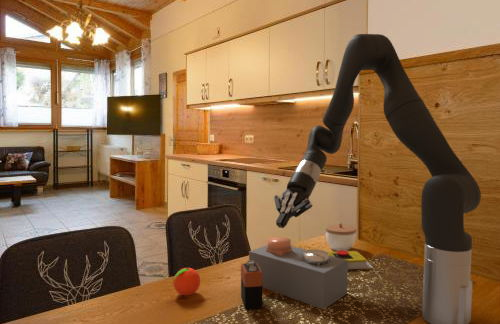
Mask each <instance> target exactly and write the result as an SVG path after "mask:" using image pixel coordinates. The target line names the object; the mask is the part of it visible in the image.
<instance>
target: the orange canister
mask: <svg viewBox="0 0 500 324" xmlns="http://www.w3.org/2000/svg"><path fill="white" fill-rule="evenodd" d="M291 242H292V240H291V238H289V237H284V236H272V237H269V238H268V239H267V245H268V247H267V252H270V253H273V254H277V255H284V254H286V253H289V252H291V251H292V247H291V246H292V244H291Z"/></svg>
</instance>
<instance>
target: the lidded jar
mask: <svg viewBox="0 0 500 324" xmlns="http://www.w3.org/2000/svg"><path fill="white" fill-rule="evenodd" d="M356 233H357V228H356V227H354V226H351V225H348V224H343V223H342V222H339V224H337V223H336V224H335V223H334V224H329V225H326V226H325V237H326V238H325V239H326V242H327V244H328V245H329V247H331V249H332V251H334V252H337V251H350V250H349V249H351V248H352V247H353V246H354V244H355V241H356Z"/></svg>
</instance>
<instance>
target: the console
mask: <svg viewBox="0 0 500 324" xmlns="http://www.w3.org/2000/svg"><path fill="white" fill-rule="evenodd" d="M267 247H268V244H267V245H266V244H265V245H264V246H260V247H257V248H255V249H252V250H250V251H248V261H250V260H252V261H254V263H257V264H258V265H259V267H260V269H261V271H262V274H263V277H262V289H266V290H268V291H272V292H274V293H277V294H279V295H282V296H285V297H288V298H290V299H293V300H296V301H299V302H302V303H303V304H307V305H310V306H313V307H315V308H318V309H320V310H325V309H326V308H328V307H329V306H331V305H332V304H335V302H336V301H338V300H340V299H341V298H343V297H344V296H346V295H347V294H348V278H349V277H348V273H349V272H348V271H349V269H348V260H345V259H341V258H337V257H333V256H329V255H328V260H329V262H328V263H327V264H324V265H321V266H317V265H311V264H307V263H305V262H302V261H303V253H304V251H306V250H307V249H305V248H301V247H296V246H293V245H291V247H292V251H291V252H289V253H286V254H284V255H277V254H273V253H270V252H267Z"/></svg>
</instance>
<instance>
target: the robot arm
mask: <svg viewBox="0 0 500 324" xmlns="http://www.w3.org/2000/svg"><path fill="white" fill-rule="evenodd" d="M361 71H373V72H374V73H375V74H376V75H377V77H378V78H379V80H380V83H381V84H382V87H383V90H384V91H383V92H384V95H383V113H384V117H385V118H386V121H387V123H388V124H389V127H390V128H391V130H392V132H393V134H394V135H395V136H396V138H397V139H398V140H399V141H400V142H401V143H402V144H403V145H404V146H405V147H406V148H407V149H408V150H410V152H411V153H412V154H413V155H415V156H416V157H417V158H418V159H419V160H420V161H421V163H423V164H424V165H425V167H426V168H427V170H428V172H429V174H430V176H431V177H430V178H429V179H427V180H426V182H425V183H424V185H423V188H422V191H421V201H420V202H421V204H420V206H421V208H420V209H421V210H420V212H421V230H422V233H423V235H424V256H423V259H424V261H423V282H422V284H423V285H422V286H423V287H422V307H421V309H422V310H421V313H422V314H421V315H422V316H421V317H422V318H423V319H424V321H426V322H427V323H428V324H470V323H471V320H472V319H471V318H472V315H471V314H472V299H473V280H472V279H471V267H472V266H471V265H472V248H473V238H472V235H471V234H470V233H469V232H466V231H465V227H464V226H465V225H464V222H465V220H464V219H465V218H464V214H467V213H470V212H473V211H475V210H476V209H477V208H478V207H479V205H480V202H481V198H482V193H481V189H480V186H479V184H478V182H477V181H476V179H475V178H474V176H473V175H472V173H471V172H470V171H469V170H468V168H467V167H466V166H465V165H464V164H463V162H462V161H461V160H460V158H459V157H458V156H457V154H456V153H455V152H454V151H453V149H452V148H451V146H450V144H449V143H448V142H449V141H448V140H447V139H446V137H445V135H444V134H443V132H442V131H441V129H440V127H439V126H438V125H437V122H436V121H435V119H434V117H433V115H432V113H431V112H430V111H429V109H428V107H427V106H426V103H425V101H424V99H422V97H421V96H420V95H419V93H418V92H417V90H416V88H415V86H414V84H413V83H412V81H411V79H410V78H409V76H408V74H407V72H406V70H405V69H404V67H403V65H402V62H401V61H400V57H399V56H398V53H397V51H396V48H395V47H394V45H393V43H392V41H391V40H390V39H389V38H388V37H387V36H385V35H384V34H379V33H359V34H354V35H353V36H352V37H351V38H350V40H349V41H348V43H347V45H346V47H345V50H344V53H343V56H342V60H341V64H340V68H339V71H338V76H337V80H336V84H335V87H334V90H333V94H332V97H331V99H330V102H329V103H328V105H327V108H326V110H325V112H324V115H323V117H322V123H323V125H324V126H322V125H316V126H314V127H313V128H311V130H310V132H309V135H308V140H307V147H306V150H305V152H304V154H303V157H302V158H301V160H300V162H299V164H298V165H296V168H295V169H294V171H293V173H292V174H291V176H290V179H289V180H288V182H287V185H286V189H285V190H284V191H283V192H282V194H280V195H278V194H276V195H274V197H273V199H274V205H275V209H276V211H277V212H278V214H279V215H278V216H277V219H276V221H275V223H276V226H277V227H278V228H281V229H284V228H285V227H287V226H288V223H289V221H290V219H291V218H293V217H294V218H297V217H299V216H301V215H302V214H303V213H305V212H307V211H308V210H310V209H311V208H312V207H313V204H312V202H311V201H310V199H309V198H310V196H311V195H312V193H313V191H314V189H315V187H316V185H317V183H318V181H319V180H320V179H319V178H320V175H321V173H322V171H323V169H324V167H325V165H326V163H327V160H328V159H327V155H326V153H327V154H329V155H333V154H336V153H337V152H338V151H339V150H340V148H341V145H342V141H343V133H344V128H345V126H346V124H347V122H348V119H349V118H350V116H351V115H352V112H353V109H354V105H355V95H354V84H355V82H356V80H357V77H358V76H359V74H360V73H361Z"/></svg>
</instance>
